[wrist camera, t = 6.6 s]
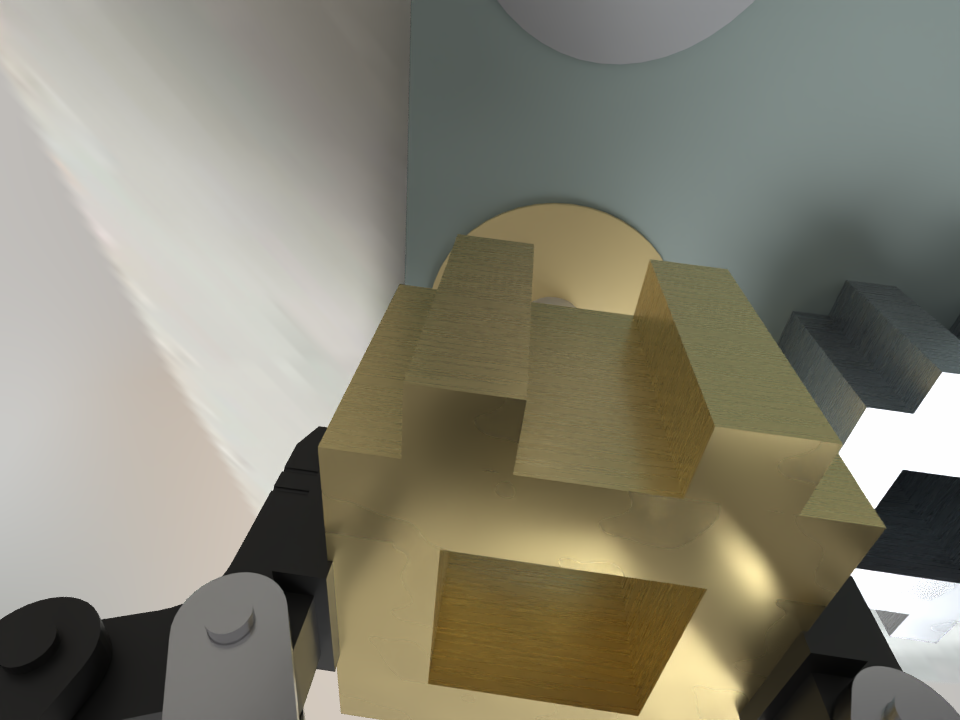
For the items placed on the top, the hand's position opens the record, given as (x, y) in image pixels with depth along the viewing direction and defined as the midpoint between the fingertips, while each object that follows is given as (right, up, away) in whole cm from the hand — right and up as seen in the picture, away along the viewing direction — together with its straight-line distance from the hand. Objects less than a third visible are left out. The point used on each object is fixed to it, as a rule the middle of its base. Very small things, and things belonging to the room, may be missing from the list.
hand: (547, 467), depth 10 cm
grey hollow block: (+9, 0, +5) cm, 11 cm away
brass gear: (0, 0, 0) cm, 1 cm away
